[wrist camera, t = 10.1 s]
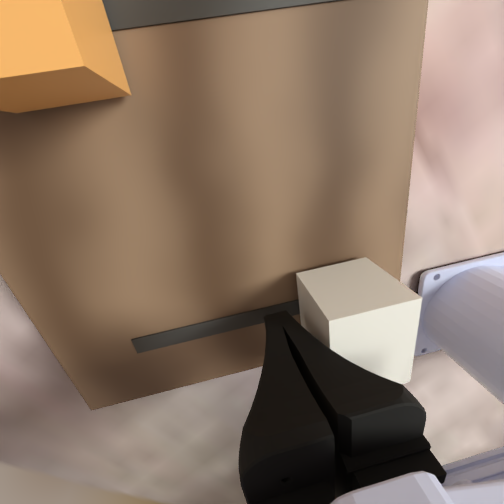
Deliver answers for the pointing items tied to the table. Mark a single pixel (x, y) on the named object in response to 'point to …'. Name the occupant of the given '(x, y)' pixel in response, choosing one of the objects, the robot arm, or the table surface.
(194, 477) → the table surface
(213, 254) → the console
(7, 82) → the orange fader
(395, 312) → the white fader
